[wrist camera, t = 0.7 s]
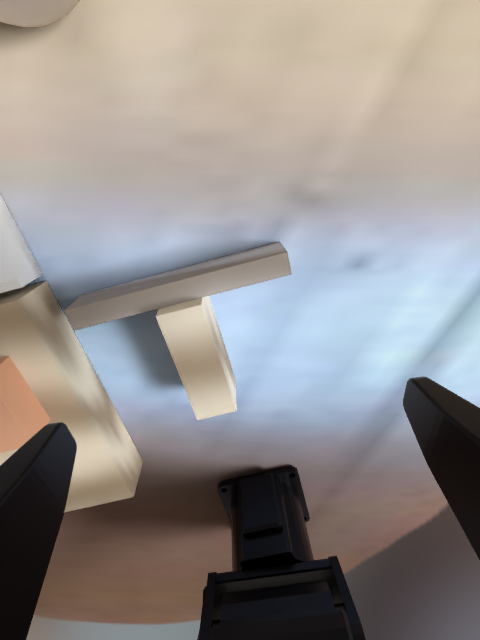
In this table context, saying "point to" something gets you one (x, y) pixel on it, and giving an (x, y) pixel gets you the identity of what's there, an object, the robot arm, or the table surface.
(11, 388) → the tile
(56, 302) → the board
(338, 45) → the table surface
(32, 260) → the box
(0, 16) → the plastic bottle
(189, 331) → the scraper
